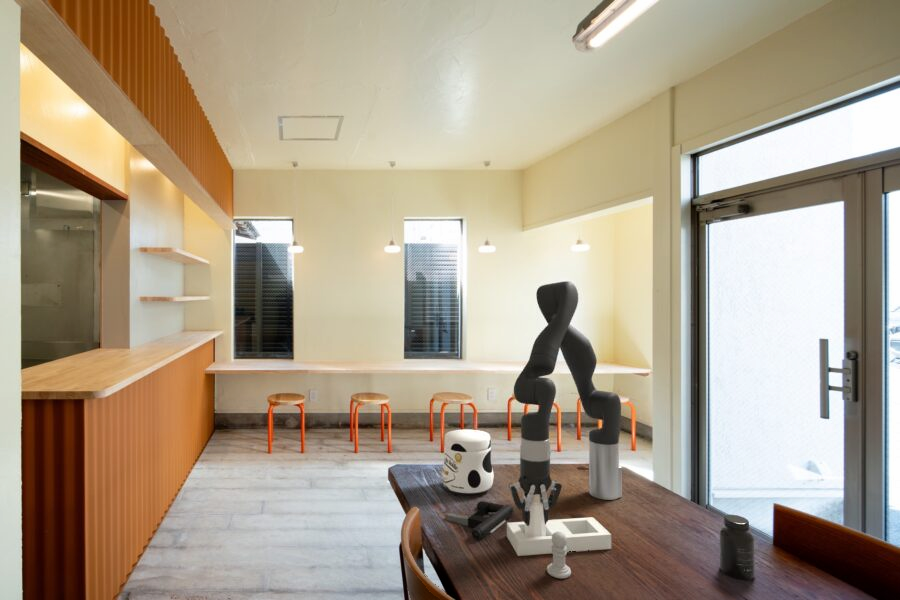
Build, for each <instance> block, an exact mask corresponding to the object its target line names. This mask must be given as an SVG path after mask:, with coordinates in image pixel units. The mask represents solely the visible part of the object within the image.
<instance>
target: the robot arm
mask: <svg viewBox="0 0 900 600" xmlns="http://www.w3.org/2000/svg"><path fill="white" fill-rule="evenodd" d="M536 302H537V305H538V308H539V310H540V313H541V314H542V317H544V319H545V321H546V323H547V325H546V326H545V327H544V328H543V329H542V331H540V333H539V334H538V335H537V336H536V339H535V340H534V342H533V345H532V348H531V351H530V355H529V358H528V359H529V360H528V361H527V363H526V364H525V365H524V367H523V369H522V371H521V372H520V373H519V374H518V376H517V378H516V380H515V383H514V386H513V395H514V398H515V400H516V401H517V402H518V403H519V404H520V403H521V404H525V405H534V406H535V405H536V406H538V410H537V411H535V412H527V413H525V414H523V415H522V416H521V420H520V422H521V423H520V445H519V460H520V461H519V462H520V463H519V466H520V469H519V470H520V471H519V472H520V473H519V474H520V476H519V479H518V481H517V482H515V483H509V484H508V488H509V492H510V494H511V496H512V499H513V502H514V504H515V505H516V506H515V507H517V509H518V510H522V520H523V521H522V522H524V523H525V524H526V525H527V526H529V524H530V511H529V508H530V503H531V502H532V498H533V495H535V494H539V495H540V497H541V502H542V504H543V511H544V521H545V525H546V522H548V520H549V509H550V508H555V507H556V504H557V503H558V499H559V496H560V492H561V490H562V487H563V485H562V484H561V483H560V482H559V481H558V480H552V478H551V453H552V452H551V446H550V418H551V413H552V409H553V406H554V402H555V398H556V394H557V389H556V384H555V383H554V381H553V380H552V379H551V378H549V377H547V376H549V375H551V374H553V373H554V371H555V368H556V364H557V360H558V357H559V356H558V355H559V352H560V351H561V354H562V357H563V359H564V361H565V363H566V366H567V368H568V369H569V371H570V374H571V377H572V379H573V381H574V384H575V386H576V389H577V393H578V396H579V399H580V403H581V406H582V409H583V411H584V413H585V415H587V416H588V417H589V418H591V419H594V420H601V421H602V422H603V423H602V427H600V428H599V427H598V428H595V429H592V430H589V432H588V443H589V444H588V448H589V449H588V459H589V460H588V463H589V464H588V467H589V468H588V475H589V476H588V477H589V478H588V479H589V481H588V482H589V485H588V490H589V492H588V493H589V495H590V496H591V497H593V498H595V499H596V498H597V499H599V500H605V501H607V500H608V501H611V500H612V501H613V500H617V499H619V498H622V497H623V476H622V475H623V474H622V473H623V472H622V471H623V470H622V469H623V468H622V466H621V465H620V439H619V438H620V434H621V420H622V419H621V417H622V402H621V397H620V396H619V395H618V394H617V393H616V392H612V391H611V392H610V391H604V390H598V389H597V388H596V387H595V385H594V383H593V375H594V372H595V370H596V367H597V361H598V360H597V356H596V353H595V350H594V348H593V346H592V344H591V342H590V340H589V339H588V338H587V337H586V335H585V334H583V333H582V332H581V331H579V330H578V329H576V327H574V326H573V325H571V322H572V319H573V317H574V315H575V312H576V310H577V307H578V303H579V292H578V290H577V286H576V285H575V284H574V283H573V282H572V281H568V280H567V281H558V282H554V283H553V282H552V283H548V284H542V285H540V286H538V288H537V290H536ZM520 488H521V490H523V493H522V498H523V499H522V501H521V499H520V496H519V492H520ZM549 489H551V490H550V492H549V497H548V494H547V491H549Z"/></svg>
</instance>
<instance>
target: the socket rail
mask: <svg viewBox="0 0 900 600" xmlns="http://www.w3.org/2000/svg"><path fill="white" fill-rule="evenodd" d="M525 528H526V524H525V523H524V521H514V522H513V521H512V522H506V538H507V539H508V541H509V543H510V545H511V546H512V547H513V549H514V551H515V553H516V555H517V556H518V557H519V556H520V557H521V556H535V555H546V554H552V545H553V543H552V535H553V534H554V533H555V532H562V533H563V534H564V535H565V536H566V539H567V542H566V545H565V546H566V548H567V550H566V552H567V553H573V552H572V551H576V552H589V551H601V550H611V549H612V533H610V532H609V531H608V530H607V529H606V528H605V527H604V526H603V525H602V524H601V523H600V522H599V521H598V520H597V519H595V518H594V517H591V516H590V517H576V518H575V517H574V518H561V519H560V518H559V519H558V518H557V519H548V522H546V525H545V529H546V536H540V537H526V536H525ZM588 550H589V551H588ZM569 551H571V552H569Z"/></svg>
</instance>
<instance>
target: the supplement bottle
mask: <svg viewBox="0 0 900 600" xmlns="http://www.w3.org/2000/svg"><path fill="white" fill-rule="evenodd" d="M723 520H724V521H723V526H722V527H721V528H720V529H719V533H718V534H719V536H718V537H719V540H718V541H719V546H718V547H719V567H720V569H721V571H722V572H723V573H724V574H726V575H728V576H729V577H731V578H734V579H736V580H743V581H749V580H753V578H755V576H756V553H755V551H756V549H755V547H756V545H755V544H756V543H755V537H754V536H753V534H752V533H751V532H750V524H749V523H750V522H749V520H748V519H747V518H745V517H744V516H741V515H737V514H726V515H724V517H723Z"/></svg>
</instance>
